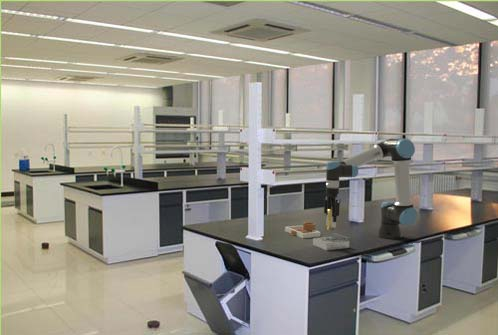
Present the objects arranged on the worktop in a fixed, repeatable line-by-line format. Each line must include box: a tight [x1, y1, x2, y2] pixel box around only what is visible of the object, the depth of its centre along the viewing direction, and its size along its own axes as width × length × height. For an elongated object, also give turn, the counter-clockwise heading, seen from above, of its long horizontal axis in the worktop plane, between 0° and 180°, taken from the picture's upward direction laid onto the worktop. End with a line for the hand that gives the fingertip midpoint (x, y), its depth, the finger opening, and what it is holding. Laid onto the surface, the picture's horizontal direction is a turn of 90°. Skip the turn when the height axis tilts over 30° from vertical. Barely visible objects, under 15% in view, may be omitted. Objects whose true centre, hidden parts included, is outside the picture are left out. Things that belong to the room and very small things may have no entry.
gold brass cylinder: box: [326, 208, 336, 231], centre depth 261 cm, size 4×4×12 cm
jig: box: [312, 232, 350, 251], centre depth 262 cm, size 16×14×6 cm
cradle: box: [284, 224, 321, 239], centre depth 296 cm, size 13×23×3 cm, turn 24°
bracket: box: [290, 221, 316, 237], centre depth 296 cm, size 18×8×7 cm, turn 121°
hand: (330, 226), depth 262 cm, fingers closed on gold brass cylinder, 4 cm apart
